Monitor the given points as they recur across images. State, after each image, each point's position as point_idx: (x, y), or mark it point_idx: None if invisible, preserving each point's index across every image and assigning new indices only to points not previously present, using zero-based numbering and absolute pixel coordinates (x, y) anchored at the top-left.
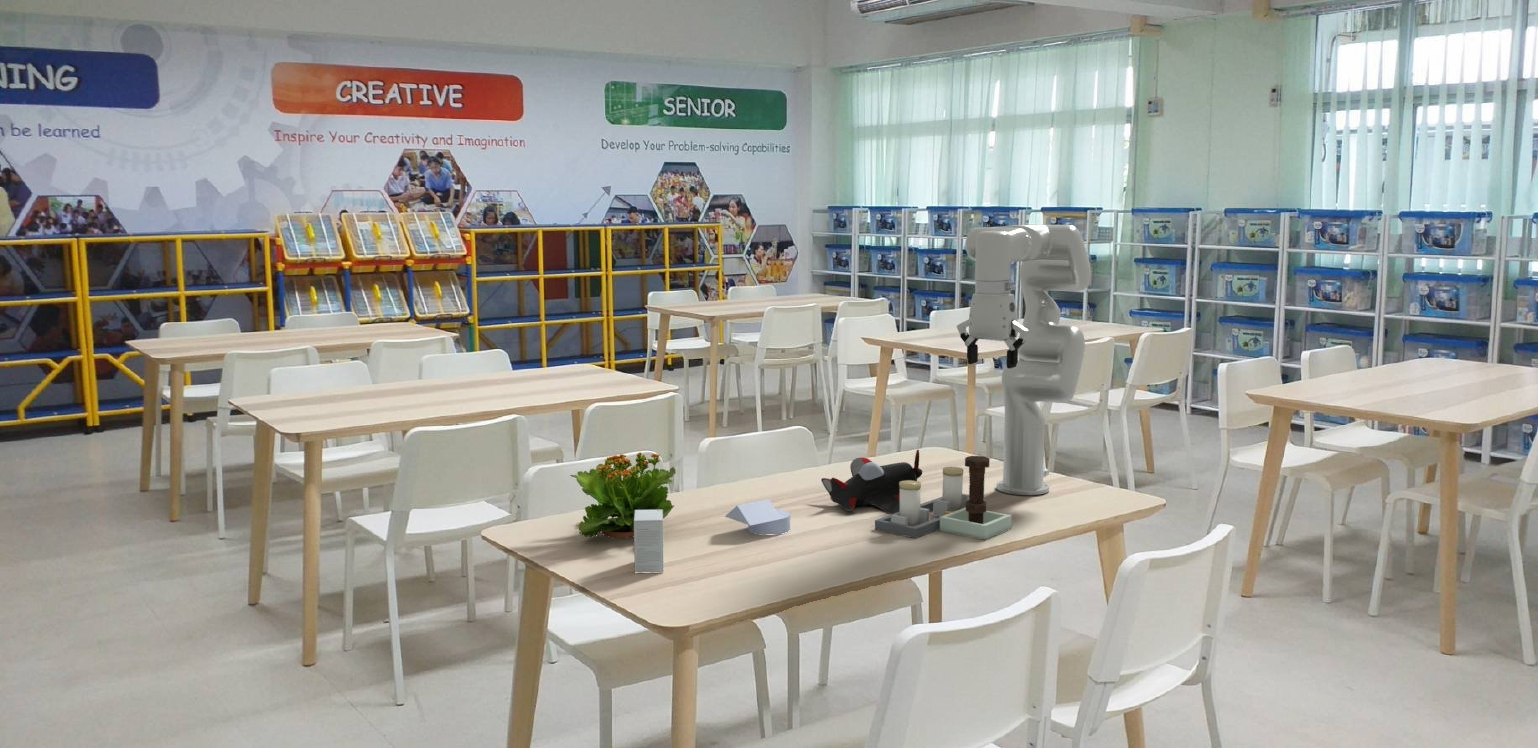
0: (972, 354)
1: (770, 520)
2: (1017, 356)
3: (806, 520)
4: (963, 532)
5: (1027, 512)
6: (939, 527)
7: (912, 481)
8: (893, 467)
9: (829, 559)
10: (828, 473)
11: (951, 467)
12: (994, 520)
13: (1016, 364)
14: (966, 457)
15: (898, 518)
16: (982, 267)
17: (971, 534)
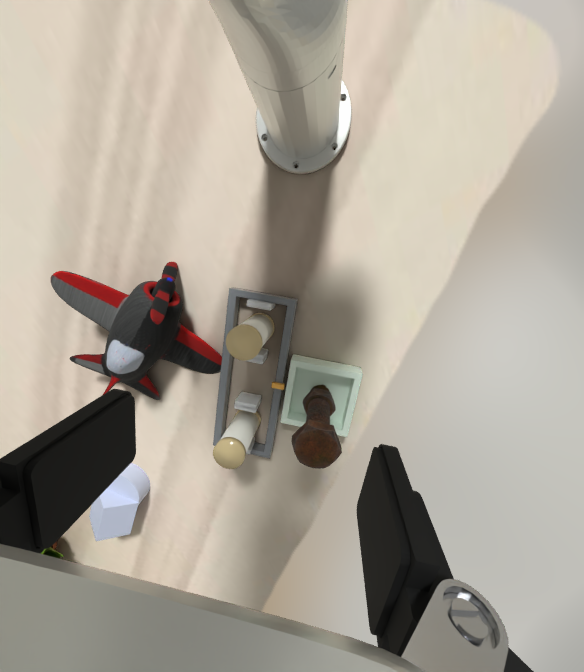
0: (93, 483)
1: (134, 514)
2: (434, 535)
3: (137, 437)
4: None
5: (355, 271)
6: (279, 406)
7: (227, 446)
8: (141, 332)
9: (233, 541)
10: (6, 203)
11: (235, 333)
12: (349, 408)
13: (398, 452)
14: (296, 450)
15: None
16: None
17: None
